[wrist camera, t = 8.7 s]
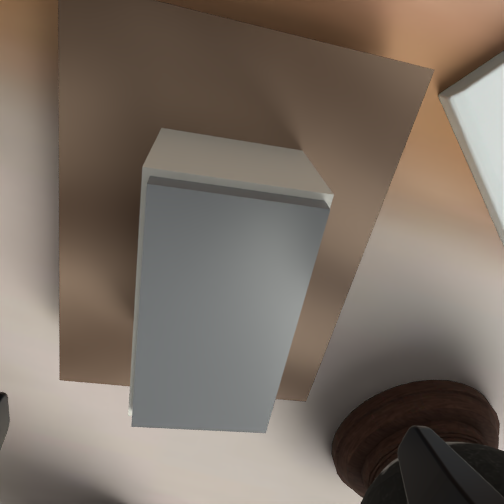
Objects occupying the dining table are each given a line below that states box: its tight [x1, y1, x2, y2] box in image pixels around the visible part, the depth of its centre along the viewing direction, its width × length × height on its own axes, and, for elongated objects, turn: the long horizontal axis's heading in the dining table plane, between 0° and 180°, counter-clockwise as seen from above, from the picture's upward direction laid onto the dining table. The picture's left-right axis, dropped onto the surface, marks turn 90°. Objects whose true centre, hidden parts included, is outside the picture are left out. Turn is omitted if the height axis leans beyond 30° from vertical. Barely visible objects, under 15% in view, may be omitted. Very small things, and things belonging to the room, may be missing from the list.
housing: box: [128, 128, 334, 433], centre depth 14 cm, size 9×5×5 cm, turn 170°
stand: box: [58, 0, 434, 401], centre depth 18 cm, size 16×12×3 cm
